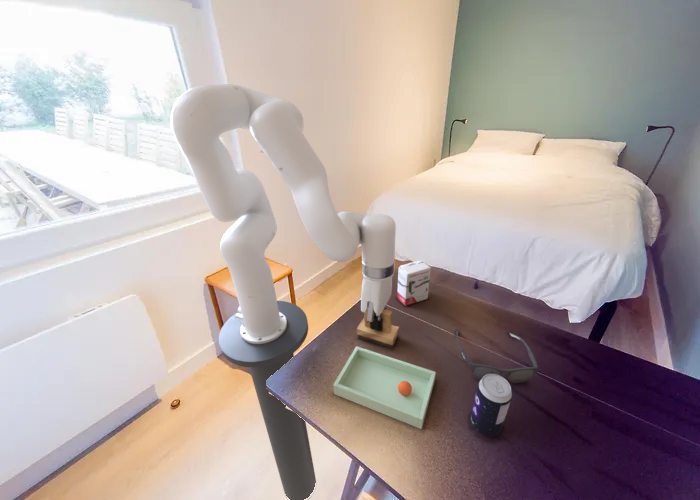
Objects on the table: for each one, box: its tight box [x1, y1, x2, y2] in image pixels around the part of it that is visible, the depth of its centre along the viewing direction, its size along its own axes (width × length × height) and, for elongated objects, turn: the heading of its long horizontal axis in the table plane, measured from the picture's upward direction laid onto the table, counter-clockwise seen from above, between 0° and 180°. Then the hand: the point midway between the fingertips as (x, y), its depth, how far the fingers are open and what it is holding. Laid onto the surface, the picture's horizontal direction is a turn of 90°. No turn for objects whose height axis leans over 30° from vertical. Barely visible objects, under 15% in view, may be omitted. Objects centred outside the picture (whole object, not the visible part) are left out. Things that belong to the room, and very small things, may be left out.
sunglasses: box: [455, 330, 539, 384], centre depth 76 cm, size 16×17×5 cm
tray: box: [333, 345, 437, 430], centre depth 70 cm, size 20×12×3 cm, turn 65°
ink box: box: [396, 259, 432, 307], centre depth 95 cm, size 9×5×12 cm, turn 114°
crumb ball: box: [398, 381, 412, 396], centre depth 68 cm, size 3×3×3 cm
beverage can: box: [470, 374, 513, 438], centre depth 59 cm, size 6×6×12 cm
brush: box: [356, 308, 400, 349], centre depth 82 cm, size 10×5×10 cm, turn 65°
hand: (377, 325), depth 82 cm, fingers closed
